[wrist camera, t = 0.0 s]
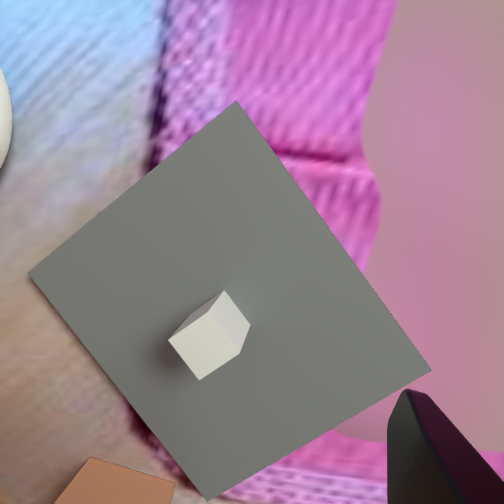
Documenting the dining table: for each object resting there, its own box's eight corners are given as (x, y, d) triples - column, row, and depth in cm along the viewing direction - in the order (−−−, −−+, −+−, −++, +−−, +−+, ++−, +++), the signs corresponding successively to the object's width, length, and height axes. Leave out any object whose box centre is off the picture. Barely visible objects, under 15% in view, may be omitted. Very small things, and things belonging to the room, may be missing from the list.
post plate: (210, 489, 27) (189, 559, 22) (38, 269, 25) (-26, 290, 21) (426, 362, 23) (458, 409, 18) (239, 104, 22) (220, 81, 17)
